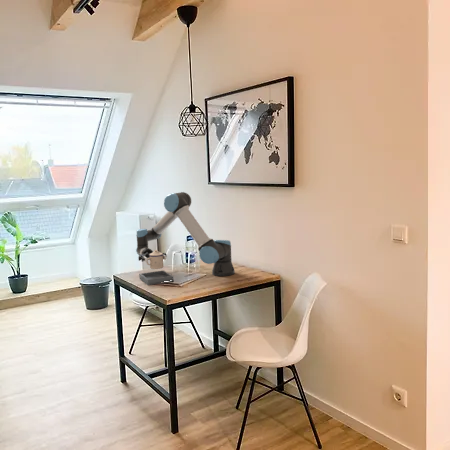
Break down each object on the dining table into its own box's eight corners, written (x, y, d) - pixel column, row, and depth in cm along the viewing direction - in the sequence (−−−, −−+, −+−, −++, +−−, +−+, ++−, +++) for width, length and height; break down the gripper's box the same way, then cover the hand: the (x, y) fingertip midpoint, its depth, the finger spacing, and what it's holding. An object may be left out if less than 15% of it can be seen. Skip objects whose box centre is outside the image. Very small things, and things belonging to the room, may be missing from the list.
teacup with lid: (159, 265, 318) (158, 248, 316) (166, 267, 310) (165, 249, 309) (143, 268, 310) (142, 250, 309) (150, 270, 303) (149, 252, 302)
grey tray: (163, 275, 324) (163, 270, 323) (173, 281, 306) (173, 276, 305) (139, 278, 317) (139, 273, 316) (147, 285, 299) (147, 279, 298)
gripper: (163, 256, 331) (174, 262, 312) (129, 261, 321) (138, 267, 302) (163, 246, 330) (173, 251, 311) (129, 250, 320) (137, 255, 301)
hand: (156, 259), depth 306 cm, fingers closed on teacup with lid, 12 cm apart
